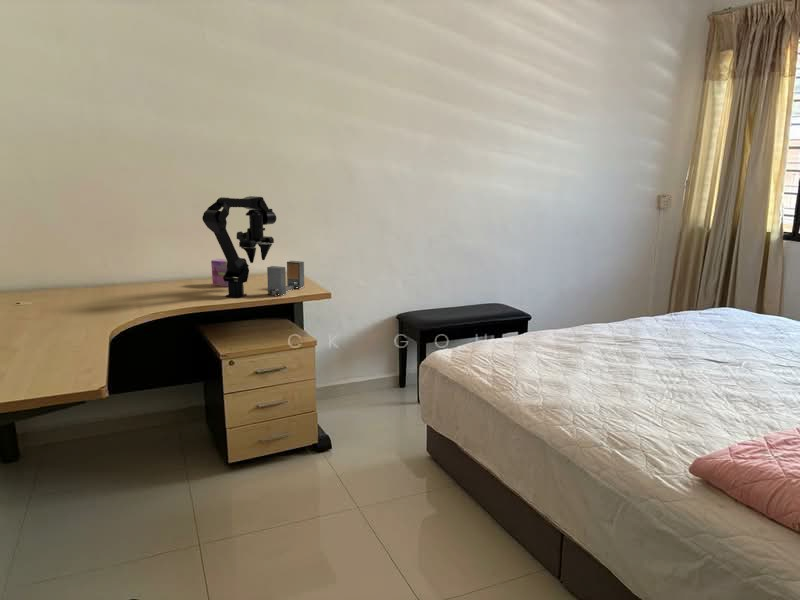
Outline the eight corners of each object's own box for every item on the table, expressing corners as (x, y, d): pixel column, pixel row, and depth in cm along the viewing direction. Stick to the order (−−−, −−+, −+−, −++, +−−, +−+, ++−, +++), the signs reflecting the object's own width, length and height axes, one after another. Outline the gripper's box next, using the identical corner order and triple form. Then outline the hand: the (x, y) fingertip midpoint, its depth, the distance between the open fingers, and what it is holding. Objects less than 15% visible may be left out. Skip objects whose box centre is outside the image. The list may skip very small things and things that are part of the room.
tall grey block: (281, 296, 255) (280, 268, 252) (268, 295, 257) (267, 267, 254) (286, 294, 259) (285, 266, 256) (273, 293, 261) (272, 265, 258)
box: (212, 285, 274) (210, 260, 272) (219, 283, 280) (218, 258, 277) (232, 287, 271) (231, 261, 269) (239, 285, 277) (237, 259, 274)
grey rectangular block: (299, 289, 270) (299, 262, 267) (287, 288, 272) (286, 261, 269) (304, 287, 274) (303, 261, 271) (292, 286, 276) (291, 260, 273)
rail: (276, 296, 255) (275, 291, 254) (271, 295, 256) (271, 291, 255) (303, 286, 277) (303, 281, 277) (299, 285, 278) (299, 281, 277)
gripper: (252, 223, 271) (253, 257, 274) (227, 226, 253) (229, 263, 257) (273, 224, 267) (274, 259, 270) (250, 228, 250) (251, 265, 253)
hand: (257, 261), depth 263 cm, fingers open, 9 cm apart
